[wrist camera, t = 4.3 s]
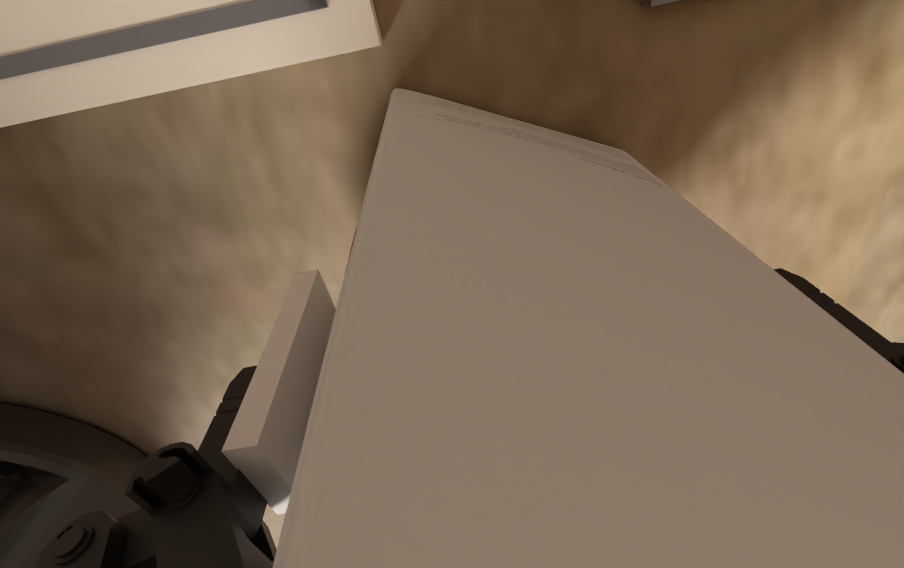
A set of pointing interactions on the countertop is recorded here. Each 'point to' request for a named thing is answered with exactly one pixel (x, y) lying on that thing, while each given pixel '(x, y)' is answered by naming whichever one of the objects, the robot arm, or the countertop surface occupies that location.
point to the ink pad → (655, 2)
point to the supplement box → (579, 376)
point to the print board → (159, 46)
